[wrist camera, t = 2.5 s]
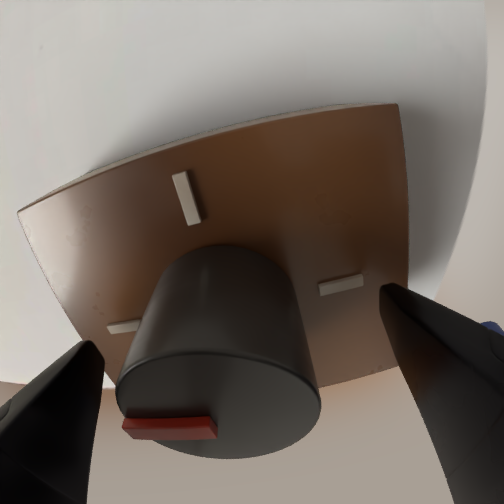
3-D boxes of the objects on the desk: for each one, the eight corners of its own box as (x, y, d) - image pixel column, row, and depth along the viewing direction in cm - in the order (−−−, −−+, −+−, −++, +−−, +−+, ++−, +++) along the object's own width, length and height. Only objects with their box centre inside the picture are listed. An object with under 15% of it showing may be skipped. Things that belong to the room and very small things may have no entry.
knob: (282, 228, 8) (315, 341, 4) (305, 345, 10) (328, 456, 6) (133, 263, 8) (69, 372, 4) (184, 365, 10) (166, 470, 6)
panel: (342, 103, 11) (401, 102, 6) (364, 299, 15) (400, 369, 11) (81, 176, 12) (12, 214, 7) (155, 341, 16) (134, 412, 12)
